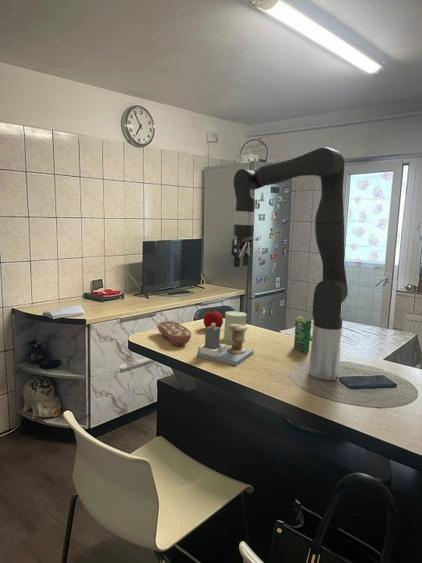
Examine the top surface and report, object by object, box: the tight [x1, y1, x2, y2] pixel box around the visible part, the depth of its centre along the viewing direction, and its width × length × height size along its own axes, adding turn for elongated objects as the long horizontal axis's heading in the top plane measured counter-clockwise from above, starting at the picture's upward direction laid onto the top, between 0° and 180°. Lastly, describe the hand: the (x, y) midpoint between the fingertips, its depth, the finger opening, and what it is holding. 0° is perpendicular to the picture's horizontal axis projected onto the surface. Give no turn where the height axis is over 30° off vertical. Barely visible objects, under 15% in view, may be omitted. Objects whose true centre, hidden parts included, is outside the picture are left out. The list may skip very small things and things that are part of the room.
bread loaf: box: [157, 321, 192, 346], centre depth 172 cm, size 23×10×5 cm, turn 25°
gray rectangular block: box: [204, 323, 221, 350], centre depth 154 cm, size 4×4×11 cm
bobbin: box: [227, 324, 248, 354], centre depth 156 cm, size 7×7×10 cm
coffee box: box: [293, 316, 312, 354], centre depth 167 cm, size 8×3×13 cm, turn 17°
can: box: [222, 310, 247, 344], centre depth 176 cm, size 9×9×12 cm
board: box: [196, 342, 254, 367], centre depth 155 cm, size 16×16×4 cm
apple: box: [203, 309, 224, 329], centre depth 191 cm, size 9×9×10 cm
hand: (241, 266), depth 159 cm, fingers open, 8 cm apart
